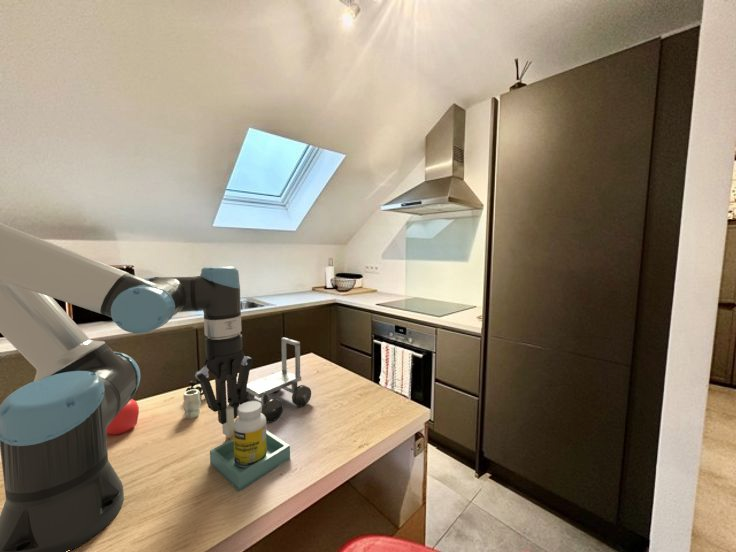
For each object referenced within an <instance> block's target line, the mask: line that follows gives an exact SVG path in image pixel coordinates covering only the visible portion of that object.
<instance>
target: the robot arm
mask: <svg viewBox="0 0 736 552" xmlns="http://www.w3.org/2000/svg"><path fill="white" fill-rule="evenodd" d="M200 272H201V273H200V275H197V276H166V277H165V276H163V277H161V276H155V277H154V276H153V277H147V278H146V277H145V278H143V277H140V276H137V275H134V274H132V273H129V272H127V271H124V270H122V269H119V268H117V267H114V266H112V265H109V264H107V263H103V262H101V261H99V260H96V259H94V258H91V257H88V256H85V255H83V254H81V253H78V252H76V251H73V250H71V249H69V248H65V247H63V246H61V245H58V244H55V243H53V242H50V241H47V240H45V239H42V238H40V237H37V236H35V235H32V234H29V233H27V232H25V231H22V230H20V229H18V228H17V229H16V228H14V227H12V226H9V225H7V224H4V223H1V222H0V334H1V335H2V336H3V337H4V338H5V339H6V340H7V341H8V342H9V343H10V344H11V345H12V346H13V347H14V348H15V349H16V350H17V351H18V352H19V354H21V355H22V356H23V357H24V359H25V360H27V361H28V362H29V364H30V365H31V366H33V368H34V369H35V370H36V372H35V376H34V380H33V381H32V382H31V381H30V382H29V383H27V384H25V385H23V386H21V387H18V388H17V389H16V390H15V391H13V392H12V393H10V394H9V395H8V396H6V398H5V399H4V400H3V401H2V402H1V404H0V459H1V467H2V475H3V476H2V477H3V485H4V494H5V500H4V504H3V507H2V509H1V512H0V552H66V551H68V550H71V549H73V550H75V549H77V548H78V546H79V547H80V546H82V545H84V544H85V543H87V542H88V541H90V540H91V539H92V538H94V537H95V536H96V535H98V534H99V533H100V532H101V531H103V530H104V529H105V528H106V527H107V526H108V525H109V524H110V523H111V522H112V521H113V520H114V518H116V516H117V515H118V513H119V512H120V511H121V508H122V506H123V504H124V500H125V499H124V498H125V495H124V485H123V483H122V480H121V479H120V477H119V476H118V474H117V472H116V471H115V468H114V467H113V466H112V464H111V462H110V461H109V454H108V442H107V441H108V439H107V433H106V429H107V426H108V425H109V424H110V423H111V422H112V420H113V419H114V418H115V417H116V416H117V414H118V413H119V412H120V411H121V409H122V408H123V407H124V406H125V405H126V404H127V403H128V402H129V401H130V400H131V399H133V397H134V395H135V394H136V392H137V390H138V387H139V385H140V382H141V369H140V367H139V365H138V364H137V362H136V360H135V359H133V358H132V357H131V356H130V355H128V354H126V353H123V352H117V351H113V349H112V348H111V347H110V346H109V345H108V344H107V343H106V341H103V340H93V339H90V338H89V336H88V335H86V333H85V332H84V331H83V330H82V329H81V327H80V326H78V324H77V323H76V322H75V321H74V320H73V319H72V318H71V316H70V315H69V314H68V313H67V312H66V311H65V309H64V308H63V307H62V306H60V304H59V303H58V301H56V300H59V301H62V302H64V303H68V304H70V305H74V306H77V307H79V308H83V309H85V310H89V311H91V312H95V313H98V314H101V315H104V316H107V317H109V318H111V319H112V321H113V322H114V323H115V325H116V326H118V327H119V328H120V329H121V330H123V331H125V332H127V333H131V334H146V333H150V332H153V331H155V330H157V329H158V328H159V329H160V328H161V327H163V326H164V325H166V324H168V322H169V321H170V320H171V319H172V318H173V317H174V316H175V315H177V314H178V313H183V312H184V313H185V312H186V313H187V312H198V311H203V322H204V323H203V326H204V327H203V331H204V336H206V338H205V340H204V345H205V346H204V347H205V356H206V358H205V361H204V363H203V364H204V366H203V367H202V368H200V370H197V371H195V372H194V373H193V377H194V378H195V379H196V380H197V379H198V380H199V382H200V385H199V386H201V388H202V392H203V393H204V394H203V395H204V396H203V397H204V398H205V401H206V405H207V407H208V409H210V410H211V411H212V412H214V413H216V412H217V420H218V422H219V423H220V424H221V425H222V434H223V435H225V437H226V436H227V437H228V438H227V437H226V438H227V439H229V437H231V436H233V435H234V433H233V425H234V419H235V418H237V416H238V407H239V406H240V404H239V403H238V402H240V401H242V400H244V399H245V394H246V388H247V383H249V376H250V370H251V368H252V365H253V364H254V358H252V357H250V356H248V355H247V356H245V353H244V352H243V334H241V332H242V315H241V314H242V313H241V311H242V308H241V307H242V306H241V305H242V304H241V284H240V274H239V270H238V269H237V267H234V266H232V265H231V266H228V265H224V266H223V265H222V266H221V265H219V266H218V265H216V266H205V267H202V268H201V270H200ZM55 299H56V300H55ZM238 369H239V371H238ZM209 372H210V373H211V374H212V375H213V378H214V383H215V385H214V386H215V393H214V389H213V387H212V384H211V382H210V380H209V376H210V374H209ZM76 547H77V548H76ZM74 548H75V549H74Z"/></svg>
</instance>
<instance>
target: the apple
mask: <svg viewBox="0 0 736 552" xmlns="http://www.w3.org/2000/svg"><path fill="white" fill-rule="evenodd" d="M139 408H140V407H139V403H138V401H136V400H134V398H132V399H131V400H130V401H129V402H128V403H127V404H126V405H125V406H124V407H123V408H122V409H121V411H120V412H119V413H118V414H117V416H116V417H115V418H114V419H113V420H112V422H111V423H110V424H109V425H108V426H107V429H106V434H110V435H114V436H117V435H120V434H123V433H126V432H127V431H129V430H131V429H133V427H135V426H136V425H137V423H138V420H139V412H140V411H139V410H140V409H139Z"/></svg>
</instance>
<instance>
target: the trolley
mask: <svg viewBox="0 0 736 552" xmlns="http://www.w3.org/2000/svg"><path fill="white" fill-rule="evenodd" d="M287 344H288V345H292V346H294V352H295V353H294V356H295V359H294V360H295V361H294V363H295V367H294V368H295V369H294V370H295V373H294V372H291V371H290V370H287V369H288V368H287V363H288V361H287ZM301 381H302V376H301V342H300V341H298V340H294V339H291V338H288V337H285V336H284V337H281V370H280V371H277V372H275V373H271V374H270V375H266V376H264V377H261V378H258V379H256V380H253V381H250V382H248V383H247V388H246V394H245V399H244V400H242V401H240V402H238V403H239V406H240V405H241V404H243V403H245V402H249V401H258V402H260V403H261V405H262V411H261V413H262V414H263V415H264V416H265V417H266V423H267V422H268V423H273V422H275V421H277V420H278V419H279V418H280V417H281V415H282V413H283V409H284V405H283V402H282V401H281V400H280V399H277V398H275V397H271V398H269V396H268V395H270V394H276V393H278V392H280V391H281V389H282V390H284V391H287V392H289V393H291V394H292V396H291V401H292V404H293V405H295V406H298V407H300V408H302V407H305V406H306V405H307V404H308V403H309V402H310V400H311V397H312V390H311V388H310V387H309V386H306V385H304V384H300V385H298V383H299V382H301ZM289 386H291V387H289ZM256 397H257V398H258V399H257V398H256ZM259 399H260V400H259Z"/></svg>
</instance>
